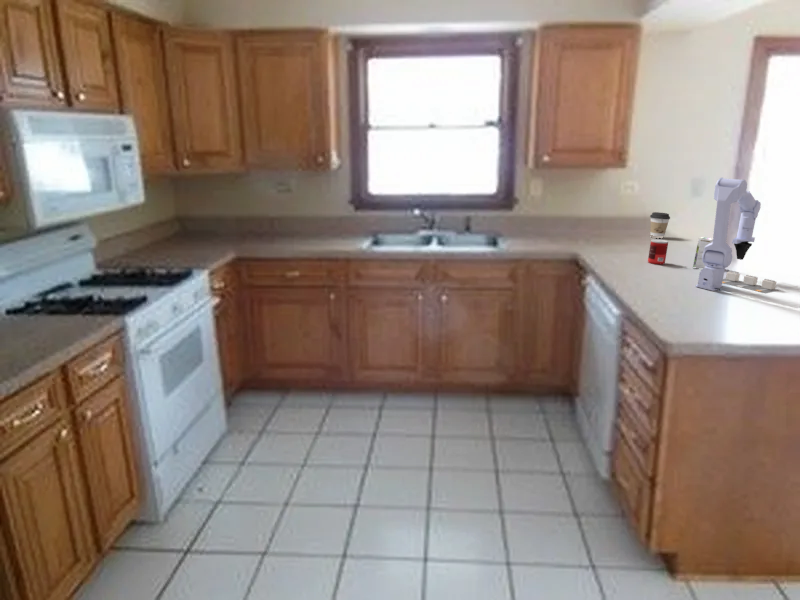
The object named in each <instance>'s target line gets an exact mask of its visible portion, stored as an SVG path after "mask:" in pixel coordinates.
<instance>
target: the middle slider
mask: <svg viewBox="0 0 800 600" xmlns="http://www.w3.org/2000/svg"><path fill="white" fill-rule="evenodd" d="M743 283H744V284H749V285H758V284H757V283H758V277H757V276H753V275H749V274H746V275H744V277H743Z"/></svg>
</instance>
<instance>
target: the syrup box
mask: <svg viewBox="0 0 800 600" xmlns="http://www.w3.org/2000/svg"><path fill="white" fill-rule="evenodd" d="M712 242H713V237H712V238H711V237H707V236H701V237H698V240H697V245H696V250H695V255H694V260H693V266H692V268H693V267H696V268H705V266H706V265H704V263H703V261H702V255H703V252H704V248H705V246H706V245H708V244H710V243H712Z"/></svg>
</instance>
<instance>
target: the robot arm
mask: <svg viewBox="0 0 800 600" xmlns="http://www.w3.org/2000/svg"><path fill="white" fill-rule="evenodd" d="M747 188H748V183H747V180H746V179H738V178H726V177H725V178H724V177H720V178H719V179H717V181H716V183H715V185H714V192H713V199H714V200H715V201H716V209H715V210H716V211H715V218H714V227H713V234H712V235H713V236H712V238H713V242H712V243H710V244H708V245H706V246H705V248H704V252H703V255H702V261H703V263H704V265H706V266H705V268H703V269H700V272H699V274H698V275H699V276H698V280H697V284H696V285H695V287H696V288H701V289H704V290H709V291H713V292H714V291H720V290H721V289H720V288H722V287H723V283H722V282H723V279H724V275H725V271H726V270H725V269H726V268H729V266H730V265H732V261H733V253H732V252H733V249H732V247H731V246H730V245H729V244H728V243H727V238H728V230H729V221H730V215H731V205H732V204H733V203H738V204H739V206H738V207H739V212H740V218H739V222H738V223H739V224H738V228H737V234H736V237H734V238H732V241H731V243H732V244H733V245H734V247H735V254H736V259H737V260H741V261H742V260H744V258H745V257H746V254H747V252H748V250H749V249H750V248H751V247H752V245H753V243H755V241H756V240H755V239H756V237H754V236H753V234H754V230H755V225H756V220H757V218H758V216H759V212H760V209H761V207H762V206H761V205H762V204H761V201H759V200H757V199H756V198H755V197H754V196H753V194H752V192H751V191H749V190H747ZM751 242H752V243H751Z"/></svg>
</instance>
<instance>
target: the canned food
mask: <svg viewBox="0 0 800 600" xmlns="http://www.w3.org/2000/svg"><path fill="white" fill-rule="evenodd" d="M668 246H669V241H668V240H665V239H652V238H651V240H650V245H649V250H648V258H647V262H648V263H649V264H650V265H651V264H652V265H659V266H661V265H665V263H666V257H667V252H668Z"/></svg>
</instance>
